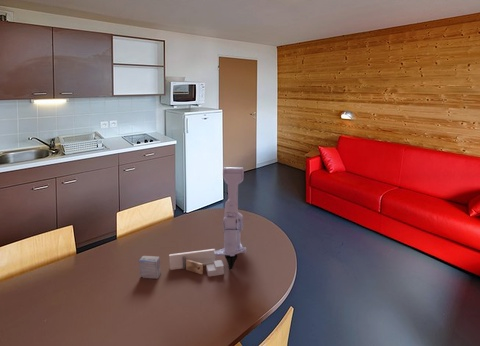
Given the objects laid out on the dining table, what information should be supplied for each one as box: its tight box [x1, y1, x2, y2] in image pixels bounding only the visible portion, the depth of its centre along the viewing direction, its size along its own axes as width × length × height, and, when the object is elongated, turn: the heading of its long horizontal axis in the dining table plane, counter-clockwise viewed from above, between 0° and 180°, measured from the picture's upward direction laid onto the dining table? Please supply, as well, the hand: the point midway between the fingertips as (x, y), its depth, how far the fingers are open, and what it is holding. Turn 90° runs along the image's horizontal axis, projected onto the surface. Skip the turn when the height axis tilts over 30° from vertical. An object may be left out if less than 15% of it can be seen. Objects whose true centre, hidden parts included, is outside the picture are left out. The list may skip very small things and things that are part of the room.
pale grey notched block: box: [205, 259, 225, 277], centre depth 138 cm, size 5×7×4 cm
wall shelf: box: [168, 248, 216, 271], centre depth 142 cm, size 3×21×7 cm, turn 105°
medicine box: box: [138, 255, 162, 280], centre depth 135 cm, size 8×4×9 cm, turn 84°
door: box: [185, 259, 204, 275], centre depth 138 cm, size 8×2×5 cm, turn 66°
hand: (230, 268), depth 140 cm, fingers closed
